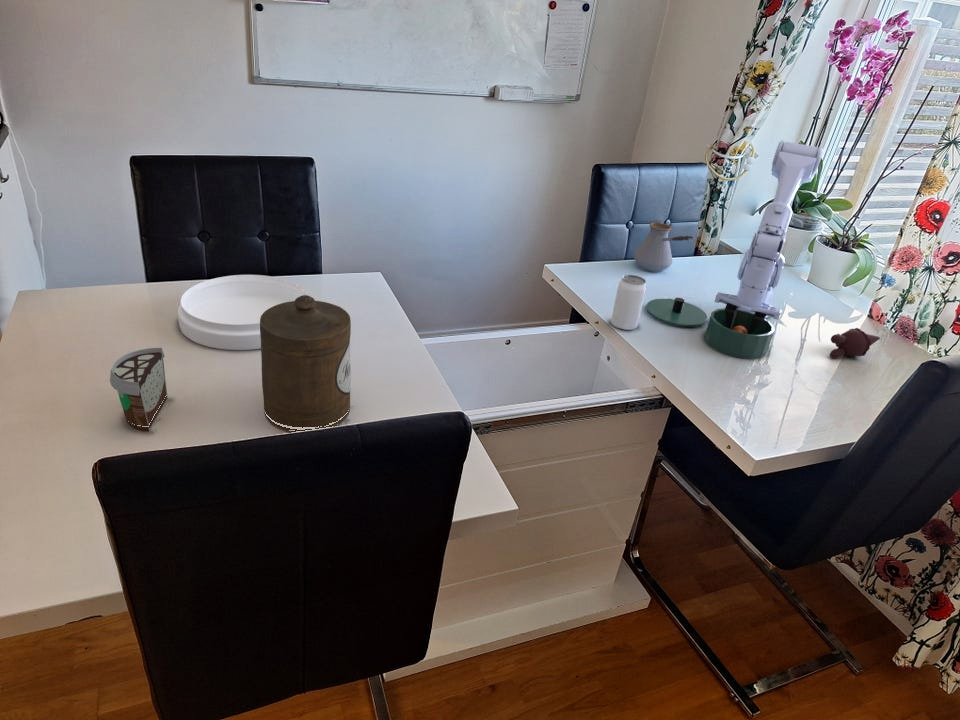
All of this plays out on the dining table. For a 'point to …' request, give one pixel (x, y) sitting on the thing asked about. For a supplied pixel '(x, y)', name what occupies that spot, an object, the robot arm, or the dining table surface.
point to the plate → (232, 309)
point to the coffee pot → (656, 248)
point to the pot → (738, 335)
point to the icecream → (852, 343)
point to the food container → (140, 386)
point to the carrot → (740, 329)
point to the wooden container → (305, 363)
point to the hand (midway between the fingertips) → (737, 337)
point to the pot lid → (676, 312)
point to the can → (628, 302)
